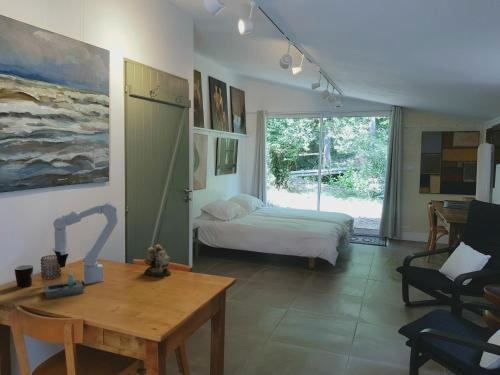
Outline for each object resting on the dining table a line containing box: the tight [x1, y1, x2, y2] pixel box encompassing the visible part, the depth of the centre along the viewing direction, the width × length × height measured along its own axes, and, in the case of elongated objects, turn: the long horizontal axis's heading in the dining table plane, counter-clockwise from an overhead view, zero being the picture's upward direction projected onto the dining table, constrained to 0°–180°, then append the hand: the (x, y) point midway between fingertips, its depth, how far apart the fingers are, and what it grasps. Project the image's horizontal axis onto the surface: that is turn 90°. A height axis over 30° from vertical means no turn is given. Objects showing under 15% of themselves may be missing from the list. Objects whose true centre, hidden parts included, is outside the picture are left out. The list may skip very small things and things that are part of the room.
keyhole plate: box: [44, 279, 84, 300], centre depth 194 cm, size 16×12×3 cm
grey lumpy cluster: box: [143, 244, 172, 278], centre depth 226 cm, size 18×12×17 cm, turn 65°
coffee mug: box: [14, 264, 34, 289], centre depth 204 cm, size 12×9×10 cm
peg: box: [67, 273, 75, 286], centre depth 196 cm, size 5×5×9 cm
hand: (61, 265), depth 207 cm, fingers open, 7 cm apart
